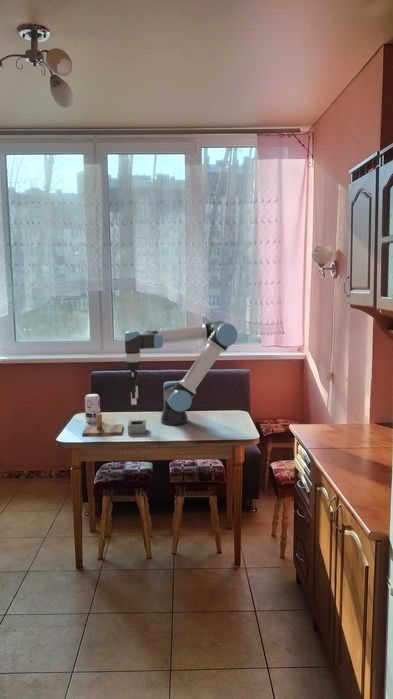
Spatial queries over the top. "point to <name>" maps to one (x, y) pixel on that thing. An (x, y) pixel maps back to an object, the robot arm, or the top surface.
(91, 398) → the supplement can
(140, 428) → the grey square socket block
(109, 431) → the keeper plate
